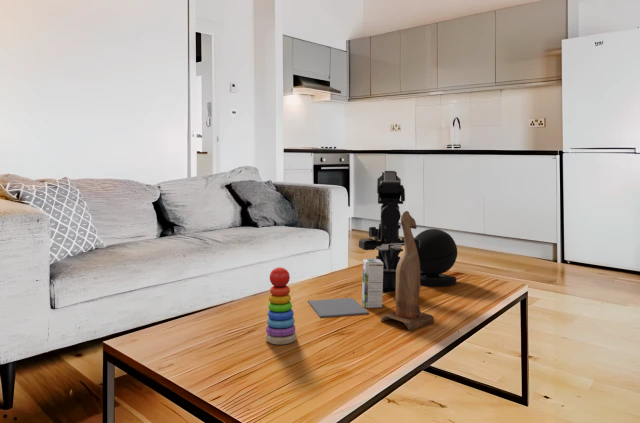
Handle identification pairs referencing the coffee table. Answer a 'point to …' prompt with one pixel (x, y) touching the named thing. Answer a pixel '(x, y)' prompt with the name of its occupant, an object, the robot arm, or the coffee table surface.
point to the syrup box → (372, 283)
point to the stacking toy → (280, 310)
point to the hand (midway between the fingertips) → (389, 270)
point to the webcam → (436, 258)
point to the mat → (337, 307)
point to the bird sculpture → (408, 282)
